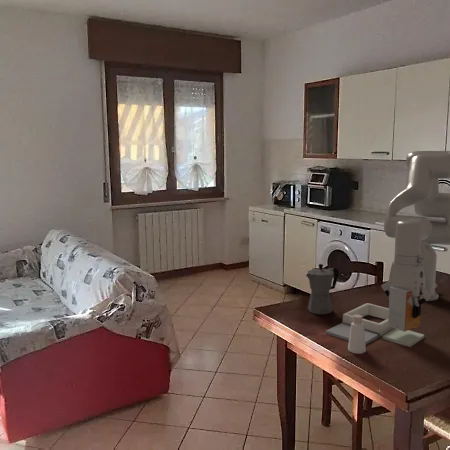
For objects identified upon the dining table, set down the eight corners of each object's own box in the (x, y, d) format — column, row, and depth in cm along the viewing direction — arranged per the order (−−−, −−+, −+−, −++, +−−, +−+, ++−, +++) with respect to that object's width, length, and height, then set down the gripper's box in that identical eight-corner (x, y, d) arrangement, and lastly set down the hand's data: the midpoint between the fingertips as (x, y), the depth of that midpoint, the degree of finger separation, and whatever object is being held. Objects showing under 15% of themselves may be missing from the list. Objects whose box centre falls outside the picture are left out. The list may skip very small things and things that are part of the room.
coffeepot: (314, 317, 172) (315, 269, 168) (298, 310, 180) (298, 263, 177) (346, 309, 179) (347, 263, 176) (329, 302, 187) (330, 258, 184)
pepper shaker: (349, 345, 148) (350, 311, 146) (367, 348, 145) (368, 314, 144) (345, 352, 143) (346, 317, 141) (364, 355, 141) (365, 320, 139)
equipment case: (366, 313, 175) (367, 302, 174) (403, 323, 165) (403, 312, 164) (325, 333, 157) (325, 322, 156) (363, 346, 147) (364, 333, 146)
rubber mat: (397, 330, 159) (397, 327, 159) (424, 337, 152) (424, 334, 152) (382, 338, 152) (382, 335, 152) (409, 347, 146) (409, 344, 145)
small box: (404, 332, 147) (406, 292, 144) (387, 326, 152) (389, 287, 150) (420, 326, 151) (422, 287, 149) (403, 320, 156) (405, 282, 154)
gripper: (440, 262, 144) (437, 317, 147) (387, 253, 157) (385, 304, 160) (429, 266, 139) (426, 324, 142) (375, 257, 151) (373, 310, 154)
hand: (404, 313), depth 151 cm, fingers closed on small box, 6 cm apart
